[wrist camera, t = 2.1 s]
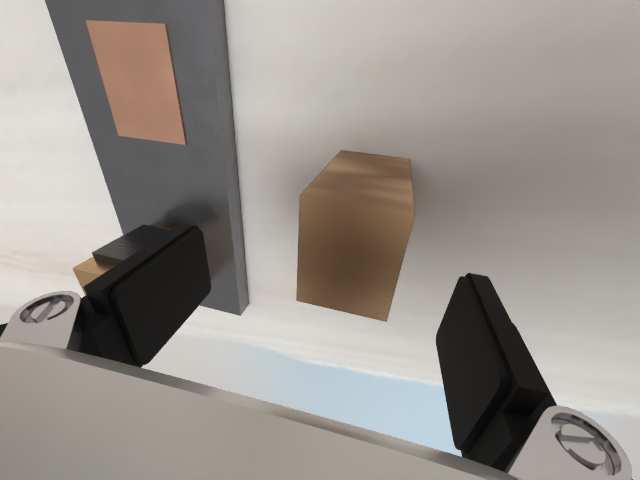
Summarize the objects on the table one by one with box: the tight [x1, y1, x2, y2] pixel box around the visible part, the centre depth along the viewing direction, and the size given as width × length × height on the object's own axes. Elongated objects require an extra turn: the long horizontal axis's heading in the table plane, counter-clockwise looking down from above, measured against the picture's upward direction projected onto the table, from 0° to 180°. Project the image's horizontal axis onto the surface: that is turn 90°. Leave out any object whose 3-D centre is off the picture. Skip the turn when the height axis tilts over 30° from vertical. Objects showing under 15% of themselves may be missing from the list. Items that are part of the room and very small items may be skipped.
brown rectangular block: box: [296, 150, 415, 322], centre depth 14 cm, size 4×6×8 cm
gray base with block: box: [45, 0, 249, 316], centre depth 17 cm, size 10×22×8 cm, turn 176°
